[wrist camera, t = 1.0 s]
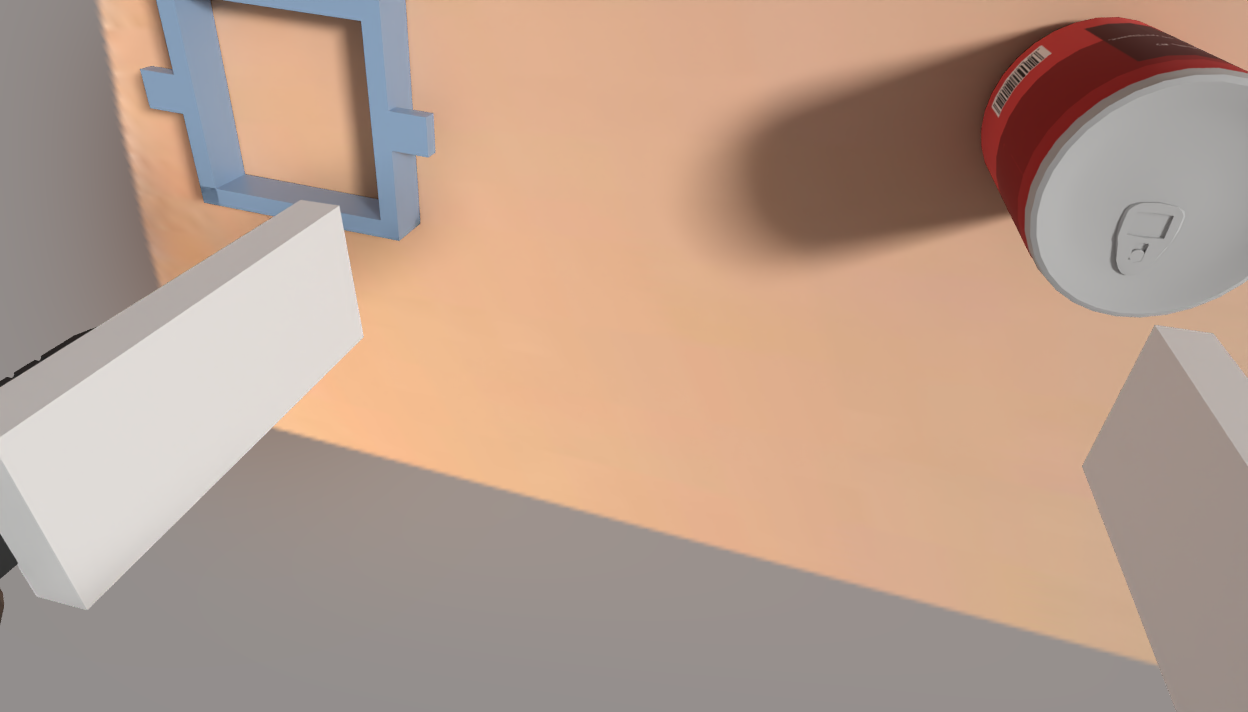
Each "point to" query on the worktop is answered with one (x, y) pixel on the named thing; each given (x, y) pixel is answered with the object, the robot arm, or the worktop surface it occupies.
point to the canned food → (1124, 166)
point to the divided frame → (213, 132)
